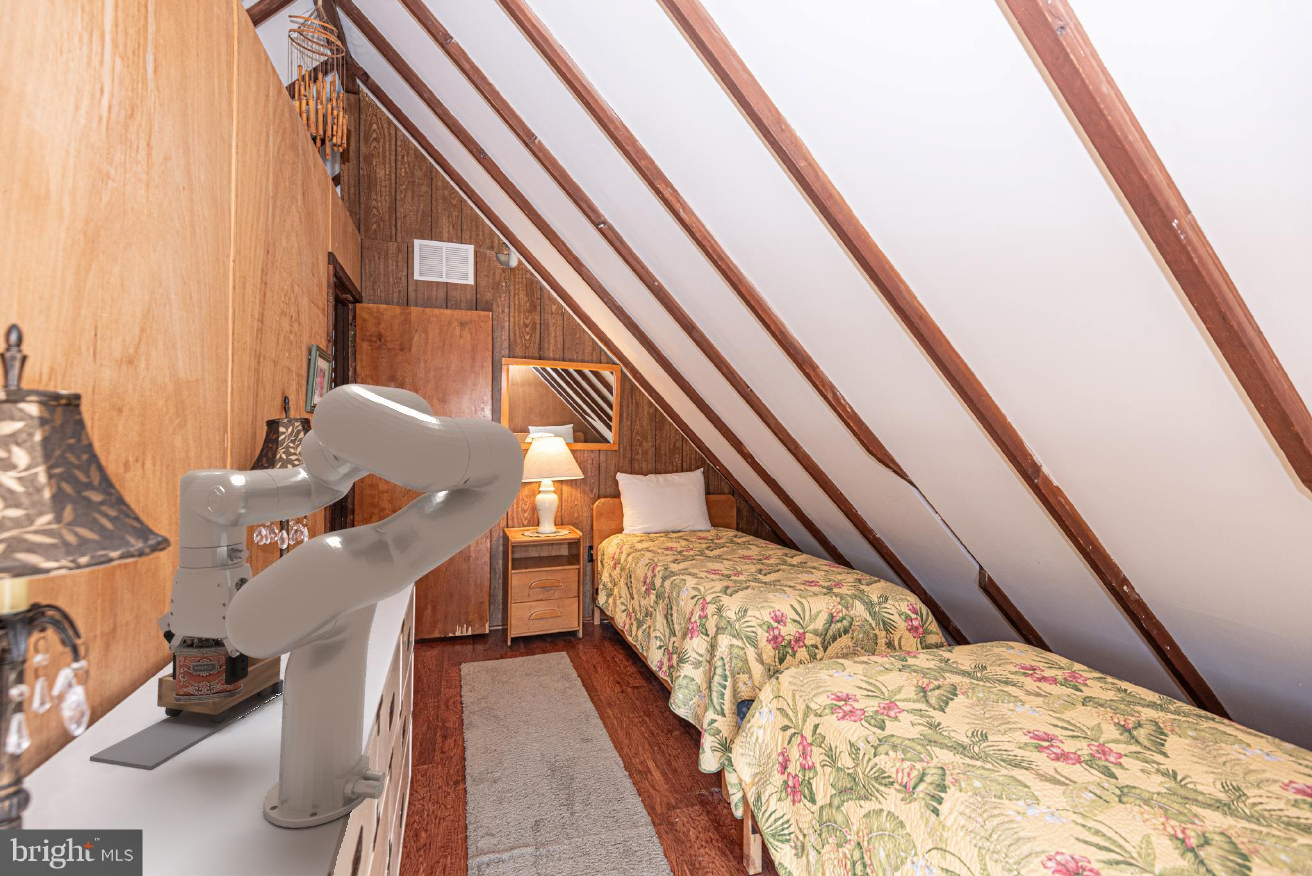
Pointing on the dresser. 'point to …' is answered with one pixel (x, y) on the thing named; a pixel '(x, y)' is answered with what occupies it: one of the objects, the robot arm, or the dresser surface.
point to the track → (175, 735)
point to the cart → (257, 681)
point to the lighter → (202, 671)
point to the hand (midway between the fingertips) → (210, 678)
